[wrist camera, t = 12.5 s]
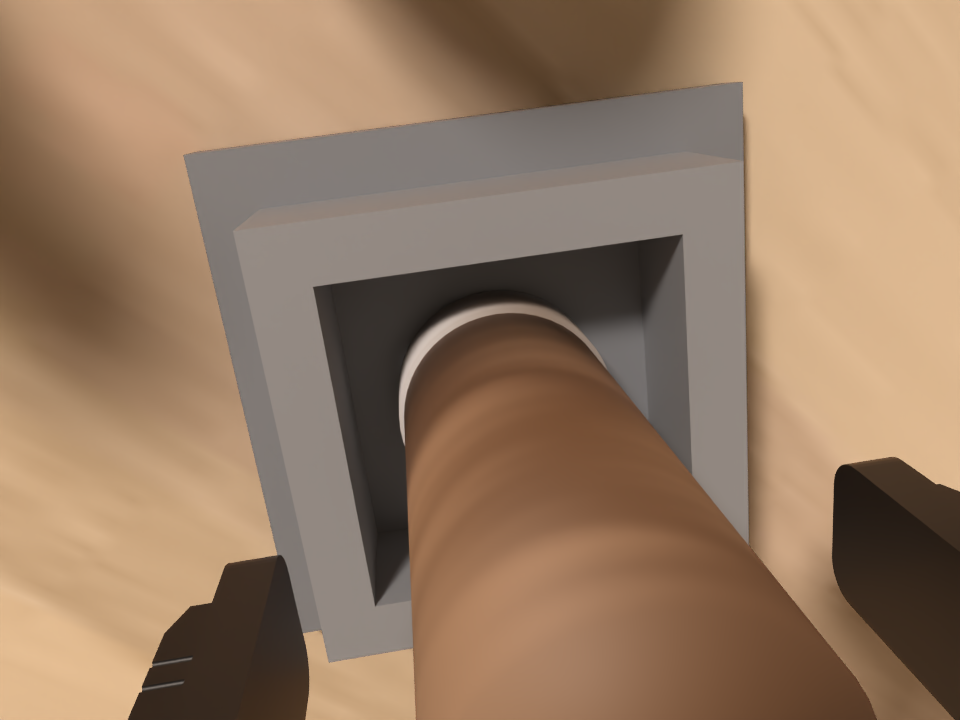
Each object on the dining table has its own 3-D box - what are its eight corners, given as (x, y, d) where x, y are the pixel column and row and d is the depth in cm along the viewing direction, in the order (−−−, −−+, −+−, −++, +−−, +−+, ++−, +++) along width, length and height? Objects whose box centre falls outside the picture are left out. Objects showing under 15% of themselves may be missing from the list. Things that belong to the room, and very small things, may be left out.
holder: (300, 610, 21) (280, 720, 17) (194, 151, 17) (139, 166, 14) (733, 538, 22) (805, 629, 18) (724, 83, 18) (811, 78, 14)
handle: (413, 483, 19) (446, 1025, 8) (383, 302, 18) (370, 648, 7) (598, 454, 20) (884, 937, 8) (583, 273, 18) (904, 557, 7)
